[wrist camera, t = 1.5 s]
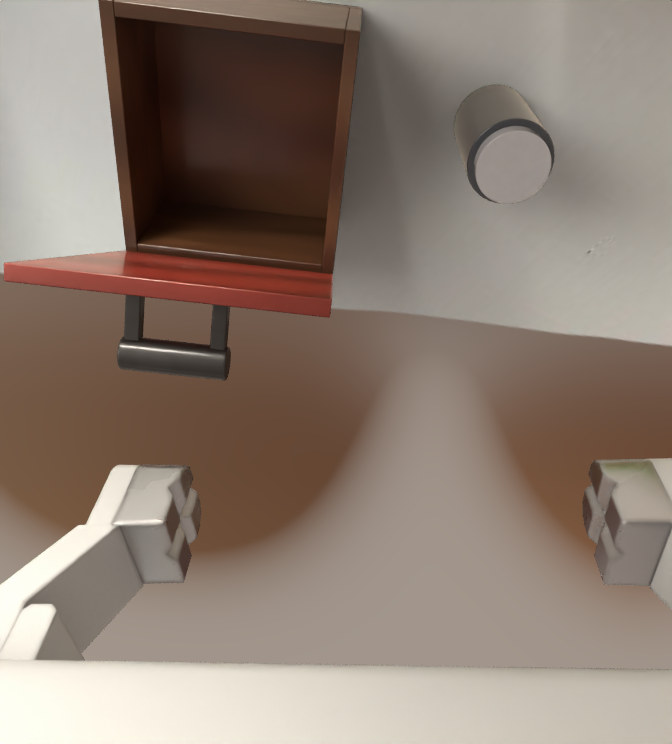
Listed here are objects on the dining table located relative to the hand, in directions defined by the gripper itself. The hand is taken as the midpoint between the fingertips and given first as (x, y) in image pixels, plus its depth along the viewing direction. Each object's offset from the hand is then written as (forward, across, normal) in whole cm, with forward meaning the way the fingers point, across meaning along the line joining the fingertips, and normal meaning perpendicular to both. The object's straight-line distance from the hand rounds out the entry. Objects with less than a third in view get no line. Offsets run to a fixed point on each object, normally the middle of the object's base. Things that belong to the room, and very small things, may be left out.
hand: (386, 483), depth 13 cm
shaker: (+38, -8, +4) cm, 39 cm away
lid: (+22, +10, +6) cm, 25 cm away
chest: (+38, +9, +2) cm, 39 cm away
